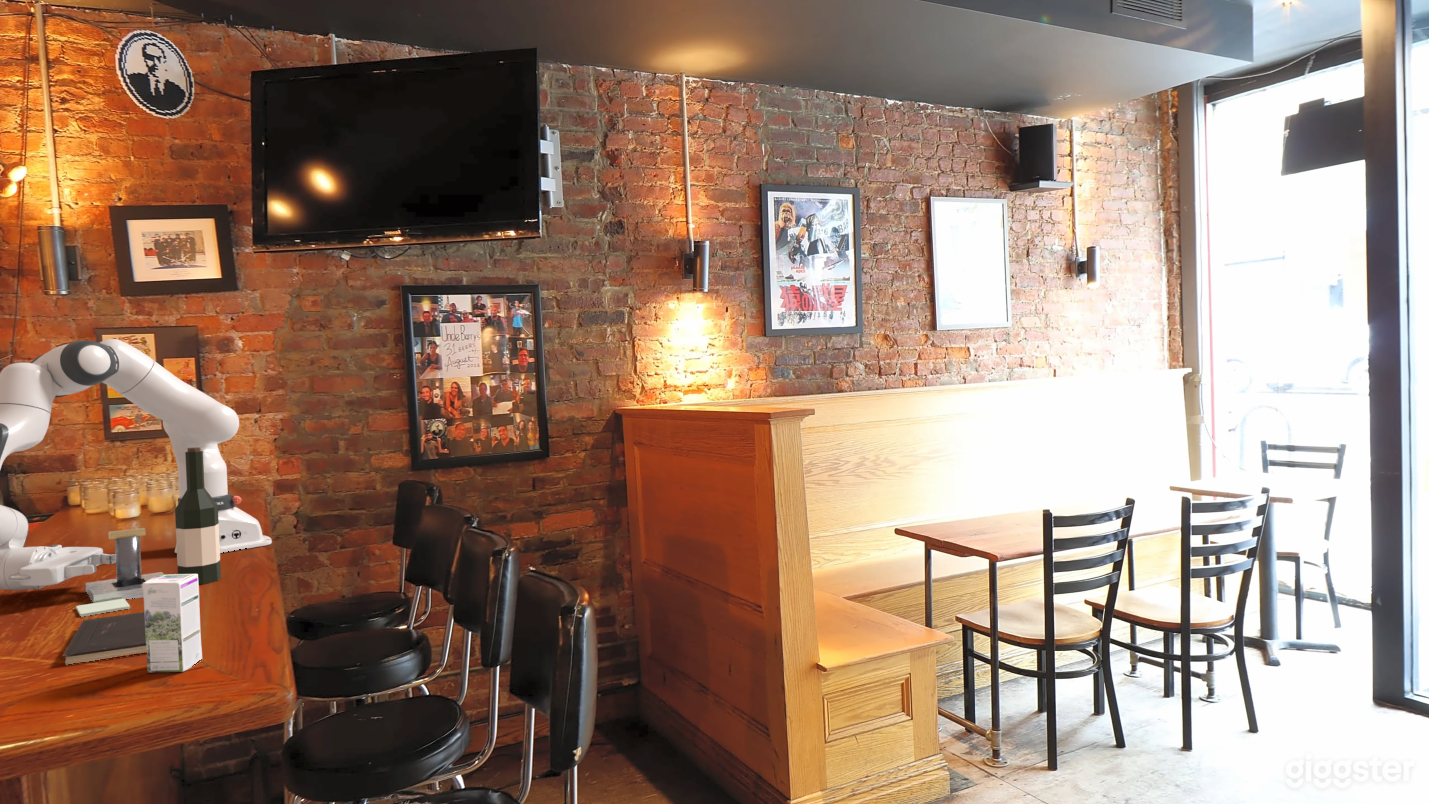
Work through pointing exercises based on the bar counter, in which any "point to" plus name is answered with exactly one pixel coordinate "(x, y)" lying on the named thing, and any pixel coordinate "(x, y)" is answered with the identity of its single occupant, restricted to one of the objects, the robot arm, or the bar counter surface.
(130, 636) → the hardcover book
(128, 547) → the t key
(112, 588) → the plate
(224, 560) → the bar counter surface
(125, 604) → the coaster
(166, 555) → the bar counter surface
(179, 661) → the syrup box
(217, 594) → the bar counter surface
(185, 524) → the wine bottle
